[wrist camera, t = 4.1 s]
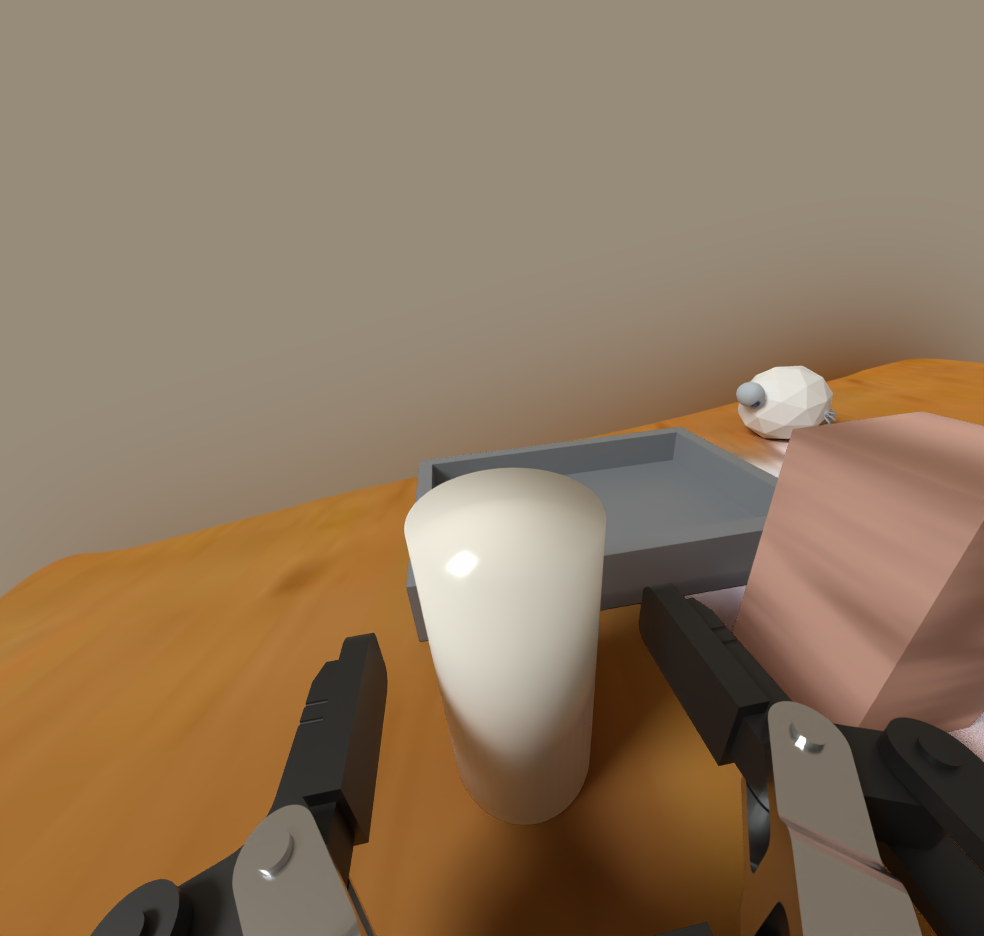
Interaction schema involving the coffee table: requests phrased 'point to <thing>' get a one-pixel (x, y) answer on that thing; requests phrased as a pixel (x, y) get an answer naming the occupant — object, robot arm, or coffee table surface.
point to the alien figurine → (784, 401)
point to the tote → (645, 508)
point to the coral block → (875, 572)
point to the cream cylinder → (513, 630)
